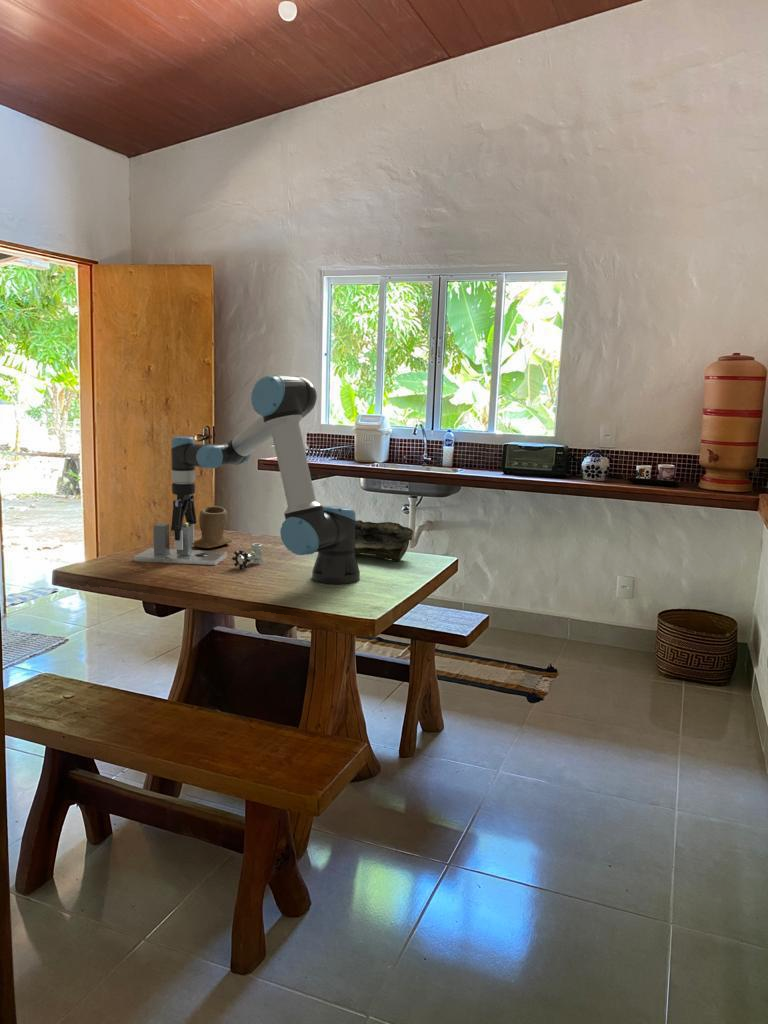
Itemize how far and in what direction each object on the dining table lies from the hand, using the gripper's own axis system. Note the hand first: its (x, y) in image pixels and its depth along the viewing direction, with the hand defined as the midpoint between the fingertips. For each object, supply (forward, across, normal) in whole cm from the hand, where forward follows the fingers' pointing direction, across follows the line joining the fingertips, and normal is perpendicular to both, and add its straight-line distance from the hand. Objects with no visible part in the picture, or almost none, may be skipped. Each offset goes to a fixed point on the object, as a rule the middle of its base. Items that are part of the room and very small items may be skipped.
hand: (184, 545), depth 260 cm
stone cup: (+5, -21, +4) cm, 22 cm away
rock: (+5, -14, +65) cm, 67 cm away
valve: (+5, +5, +24) cm, 25 cm away
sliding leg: (+3, 0, 0) cm, 3 cm away
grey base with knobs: (+4, 0, -1) cm, 5 cm away
